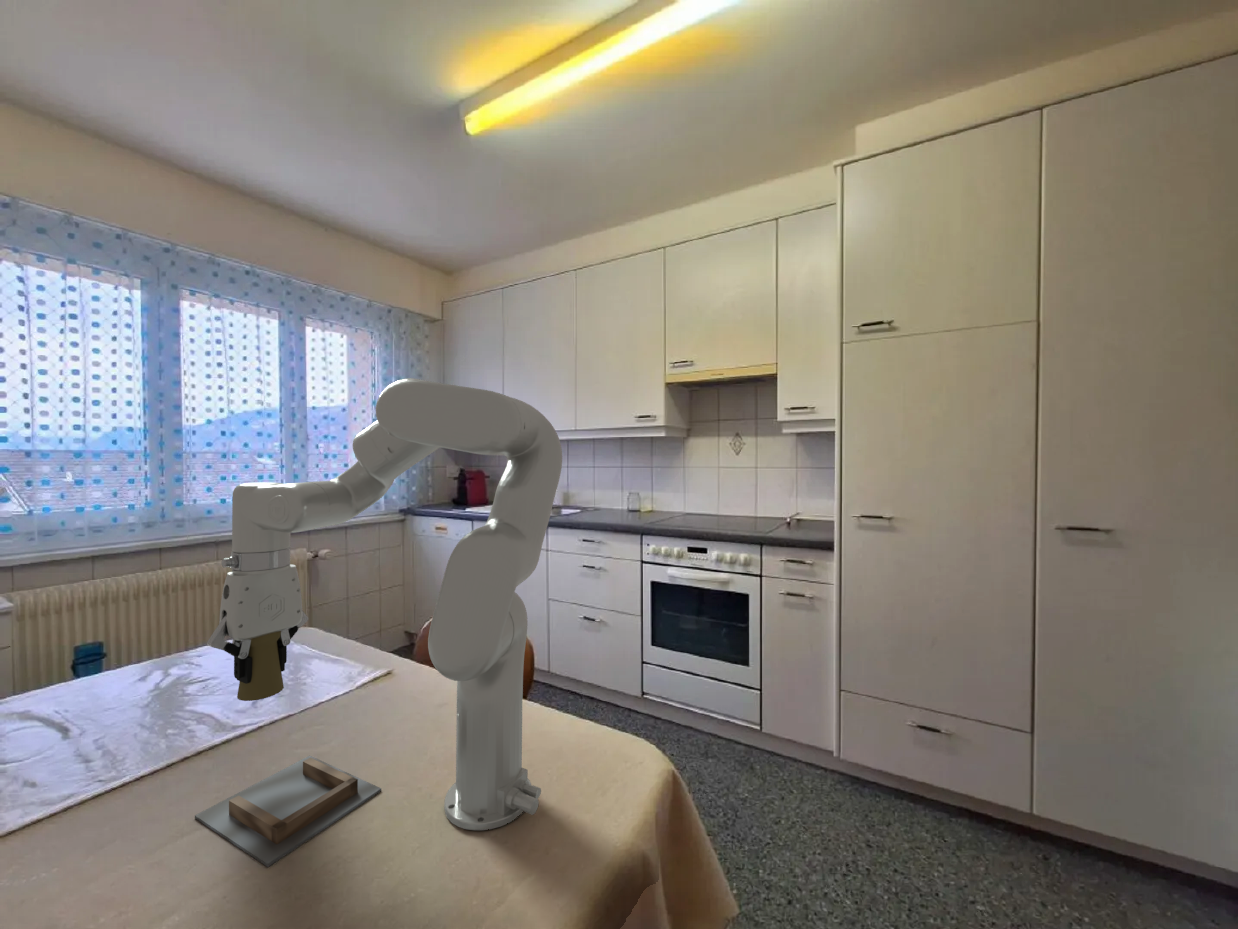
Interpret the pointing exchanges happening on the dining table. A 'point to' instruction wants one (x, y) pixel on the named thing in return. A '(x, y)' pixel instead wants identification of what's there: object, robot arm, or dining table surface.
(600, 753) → the dining table surface
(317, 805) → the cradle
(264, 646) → the cork
